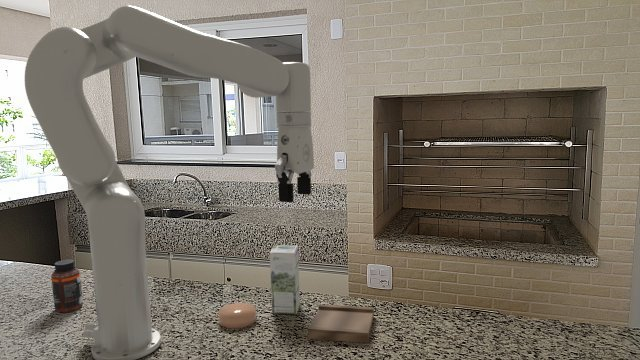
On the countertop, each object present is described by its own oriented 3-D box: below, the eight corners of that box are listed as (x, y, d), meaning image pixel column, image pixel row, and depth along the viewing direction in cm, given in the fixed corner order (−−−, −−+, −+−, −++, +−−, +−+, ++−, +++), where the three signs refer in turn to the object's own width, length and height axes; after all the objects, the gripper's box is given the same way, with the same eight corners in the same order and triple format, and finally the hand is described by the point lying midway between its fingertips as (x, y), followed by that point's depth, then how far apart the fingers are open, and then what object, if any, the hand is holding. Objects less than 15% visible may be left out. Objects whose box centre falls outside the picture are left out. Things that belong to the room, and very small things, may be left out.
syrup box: (300, 304, 113) (298, 244, 110) (296, 315, 107) (294, 251, 105) (276, 303, 113) (274, 244, 111) (271, 314, 107) (268, 251, 105)
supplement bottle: (89, 304, 115) (84, 259, 113) (67, 315, 110) (62, 267, 108) (70, 301, 117) (65, 256, 116) (48, 311, 112) (43, 264, 110)
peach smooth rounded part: (213, 328, 102) (212, 316, 102) (227, 312, 110) (227, 301, 109) (249, 330, 100) (248, 319, 100) (261, 314, 108) (260, 303, 108)
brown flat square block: (307, 338, 96) (307, 328, 96) (319, 313, 107) (319, 304, 107) (368, 343, 93) (367, 333, 93) (373, 316, 105) (373, 307, 105)
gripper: (293, 121, 96) (295, 206, 98) (324, 119, 112) (325, 192, 114) (259, 122, 99) (262, 204, 101) (294, 119, 115) (296, 190, 117)
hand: (295, 197), depth 108 cm, fingers open, 9 cm apart
